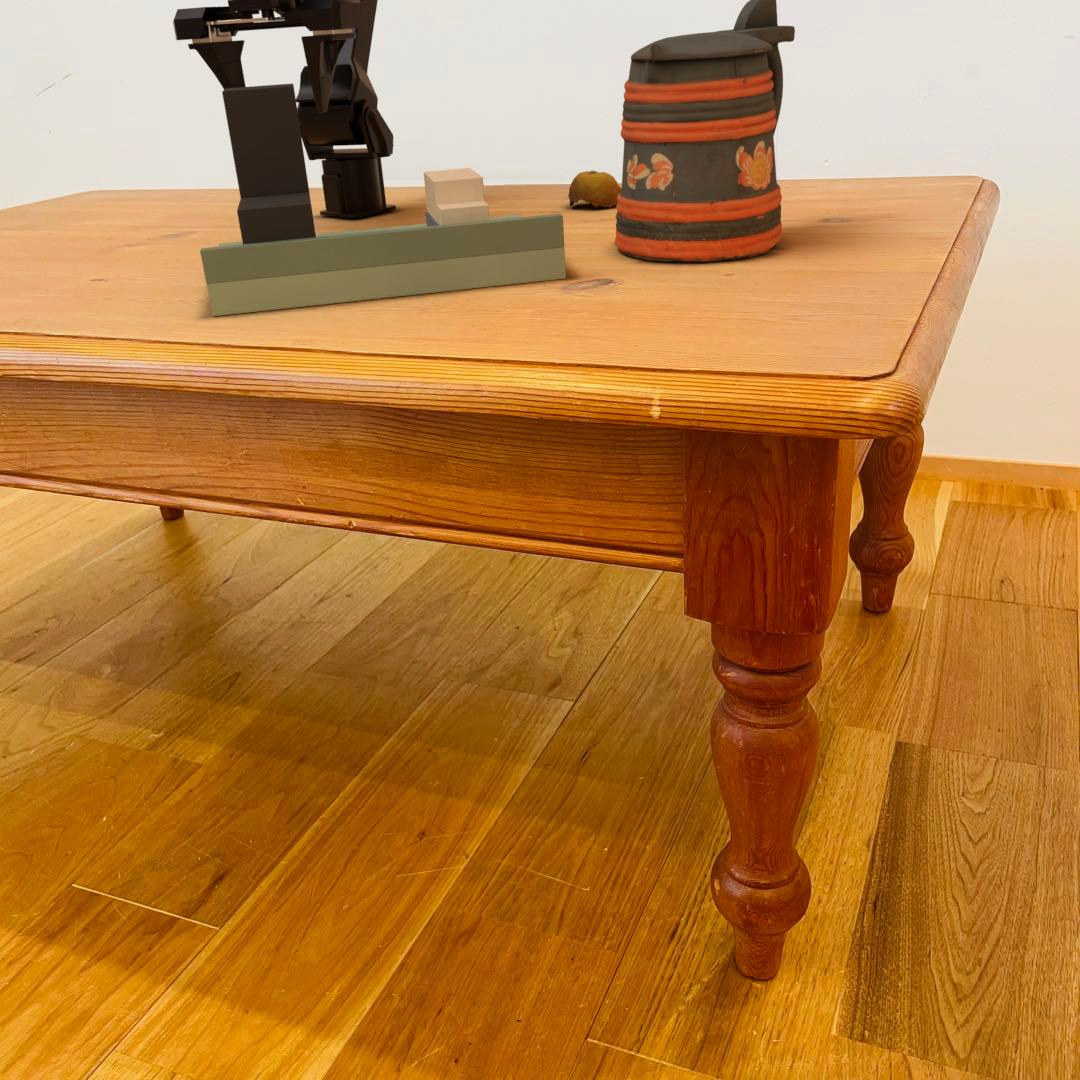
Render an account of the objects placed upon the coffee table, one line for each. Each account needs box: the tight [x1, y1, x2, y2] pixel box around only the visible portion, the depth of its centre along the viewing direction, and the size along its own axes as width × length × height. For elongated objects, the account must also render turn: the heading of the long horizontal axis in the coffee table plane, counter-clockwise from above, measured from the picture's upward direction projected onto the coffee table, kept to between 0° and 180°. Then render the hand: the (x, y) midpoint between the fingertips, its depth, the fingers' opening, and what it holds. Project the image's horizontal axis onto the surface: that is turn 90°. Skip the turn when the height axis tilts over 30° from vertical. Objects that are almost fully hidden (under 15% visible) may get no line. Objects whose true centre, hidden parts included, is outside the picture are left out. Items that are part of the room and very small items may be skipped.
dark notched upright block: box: [221, 83, 317, 244], centre depth 86 cm, size 12×6×13 cm, turn 12°
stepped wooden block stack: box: [423, 167, 490, 226], centre depth 93 cm, size 10×4×5 cm, turn 12°
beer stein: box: [614, 0, 796, 263], centre depth 93 cm, size 19×15×20 cm
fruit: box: [567, 170, 622, 208], centre depth 119 cm, size 8×8×4 cm
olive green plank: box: [199, 213, 567, 317], centre depth 92 cm, size 18×28×5 cm, turn 102°
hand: (283, 113), depth 109 cm, fingers open, 9 cm apart
